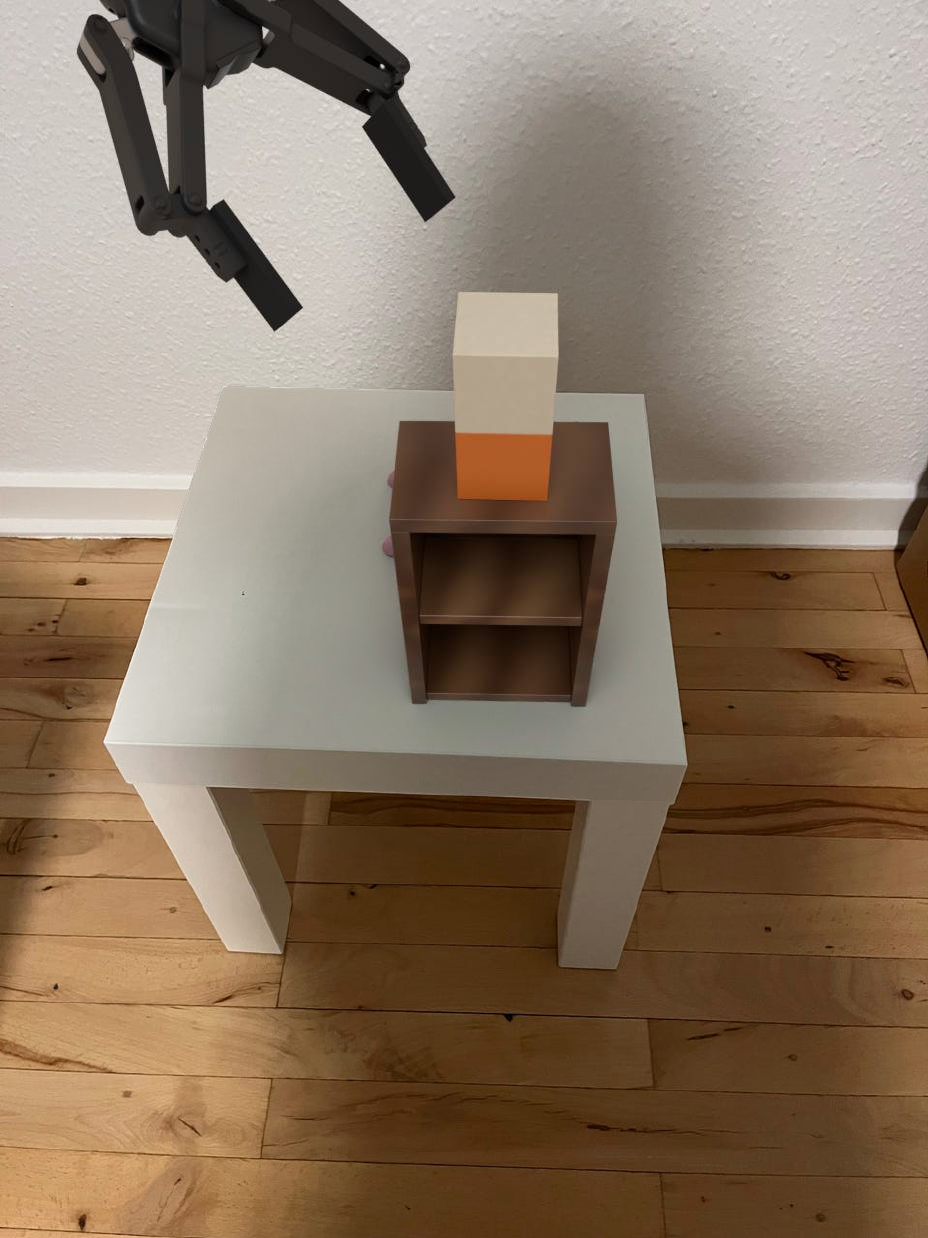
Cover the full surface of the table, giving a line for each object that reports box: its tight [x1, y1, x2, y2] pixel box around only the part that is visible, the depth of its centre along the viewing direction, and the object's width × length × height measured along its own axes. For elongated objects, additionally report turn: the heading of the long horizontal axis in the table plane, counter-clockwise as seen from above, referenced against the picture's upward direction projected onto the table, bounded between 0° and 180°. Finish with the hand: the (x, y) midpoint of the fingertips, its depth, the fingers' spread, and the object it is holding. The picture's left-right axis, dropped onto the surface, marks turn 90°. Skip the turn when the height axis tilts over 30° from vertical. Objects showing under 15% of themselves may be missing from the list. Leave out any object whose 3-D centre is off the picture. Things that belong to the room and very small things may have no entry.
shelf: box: [388, 420, 618, 708], centre depth 68 cm, size 14×9×22 cm, turn 88°
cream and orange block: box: [452, 291, 559, 501], centre depth 55 cm, size 6×6×11 cm
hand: (369, 262), depth 54 cm, fingers open, 13 cm apart
